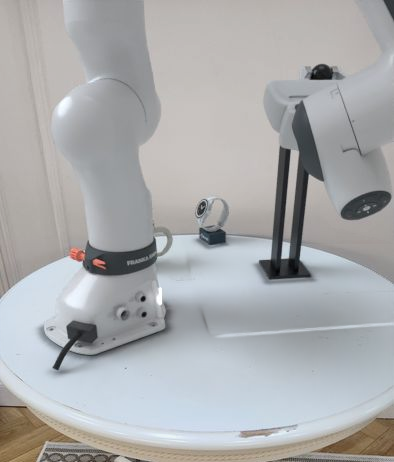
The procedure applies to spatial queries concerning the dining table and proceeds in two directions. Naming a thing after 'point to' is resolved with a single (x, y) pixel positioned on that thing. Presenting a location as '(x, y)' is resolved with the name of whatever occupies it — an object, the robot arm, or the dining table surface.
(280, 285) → the dining table surface
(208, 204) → the watch
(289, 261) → the stand
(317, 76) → the lever
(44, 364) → the dining table surface
